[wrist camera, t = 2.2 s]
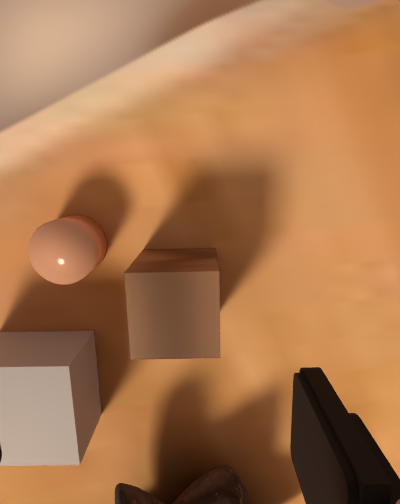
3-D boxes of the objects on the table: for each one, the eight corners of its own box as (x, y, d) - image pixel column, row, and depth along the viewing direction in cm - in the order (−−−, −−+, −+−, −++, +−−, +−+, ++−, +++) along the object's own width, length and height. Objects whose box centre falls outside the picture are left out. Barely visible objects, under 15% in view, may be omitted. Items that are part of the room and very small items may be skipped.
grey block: (94, 329, 25) (68, 366, 20) (102, 412, 27) (79, 465, 22) (0, 330, 25) (-48, 367, 21) (13, 413, 27) (-29, 465, 22)
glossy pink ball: (104, 214, 23) (90, 219, 20) (109, 270, 24) (96, 283, 21) (46, 215, 23) (24, 221, 20) (53, 272, 24) (32, 285, 21)
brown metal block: (215, 247, 24) (219, 271, 18) (215, 315, 25) (220, 357, 19) (143, 249, 24) (124, 273, 18) (147, 316, 25) (130, 359, 19)
